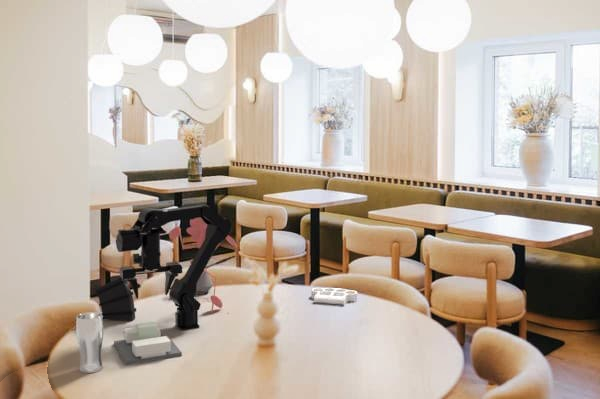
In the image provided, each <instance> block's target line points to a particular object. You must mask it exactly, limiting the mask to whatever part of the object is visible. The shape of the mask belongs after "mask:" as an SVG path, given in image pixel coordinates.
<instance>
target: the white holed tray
mask: <svg viewBox="0 0 600 399" xmlns="http://www.w3.org/2000/svg"><path fill="white" fill-rule="evenodd" d="M310 296H311V298H312V299H313V298H314V299H313V302H314V303H317V302H318V303H319V304H329V305H330V304H331V305H340V306H341V305H342V306H346V304H347V303H349V302H348V301H354V300H357V301H358V291H357V290H353V289H346V288H338V287H337V288H335V287H315V288H312V289H311V295H310ZM354 302H355V301H354ZM318 303H317V304H318Z"/></svg>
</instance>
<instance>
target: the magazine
mask: <svg viewBox="0 0 600 399" xmlns="http://www.w3.org/2000/svg"><path fill="white" fill-rule="evenodd" d="M94 291H95V292H94V296H96V297H97V298H98V300H99V304H98V305H99V306H100V307H101V312H100V313H101V314H102V320H103V319H111V320H110V321H121V320H122V321H125V322H127V321H128V322H132V321H134V320H135V319H136V312H137V307H135V302H134V298H133V295H134V290H133V291H131V287H130V284H129V281H127V280H126V279H122V277H121V276H120V277H118V278H116V279H114V280H112V281H111V280H110V281H109V282H107V283H105V284H103V285H101V286H98V287H97V288H95V289H94ZM122 321H121V322H122Z"/></svg>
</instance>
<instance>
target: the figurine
mask: <svg viewBox="0 0 600 399" xmlns="http://www.w3.org/2000/svg"><path fill="white" fill-rule="evenodd" d="M206 228H207V224H206V223H205V222H204V221H203V220H202V219H201V217H199V218H192V219H189V227H187V228H186V233H187V234H188V235H190V241H191V242H193V243H194V242H195V243H196V244H197V245H194V246H193V245H191V246H190V245H189V246H185V245H184V242H183V238H182V234H181V233H182V232H181V231H182V229H181V227H180V226H179V225H178V226H175V227H173V228H171V230H170V231H169V233H168V237H169V239H170V240H171V241H172V240H174V239H176V238H178V237H179V239H180V242H181V247H182V249H193V248H197V249H200V247H201V245H202V243H203V241H204V240H205V233H206ZM225 240H226V241H227V242H228V243H229V244H230V245H231V246H234V248H236V249H237V248H238V244H237V242H236V241H235V239H234V238H232V237H231V236H230V235H228V236H227V237H226V239H225ZM219 245H220V244H218V246H217V247H216V249H218V247H219ZM206 270H207V269H206ZM206 270H205V269H204V271H203V273H204V272H205V271H206ZM206 272H207V273H208V275H209V276H211V277H213V278H214V288H213V294H212V295H211V296H210V300H205V301H204V300H203V301H199V300H198V302H199V303H205V302H206V303H208V302H209V303H212V304H211V312H210V314H213V312H214V306H216V307H217V308H220V309H222V307H223V301H222V299H220V298H219V297H218V296H217V295H216V286H217V285H216V283H217V278H216V277H215V276H214V275H213V274H212V273H210V272H208V271H206ZM227 314H228V315H229V312H228V313H226V315H227Z"/></svg>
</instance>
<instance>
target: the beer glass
mask: <svg viewBox="0 0 600 399" xmlns="http://www.w3.org/2000/svg"><path fill="white" fill-rule="evenodd" d="M101 313H102V312H95V311H92V312H83V313H79V314H78V315H77V316H76V325H75V331H76V332H75V334H76V335H75V336H76V341H77V345H78V349H79V350H78V351H79V355H80V361H79V362H80V363H79V364H80V365H79V369H78V370H79V372H81V373H84V374H93V373H98V372H100V371H101V370H102V369H104V368H103V367H104V365H103V362H102V347H103V342H104V322H103V321H104V320H103V319H102V314H101Z"/></svg>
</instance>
